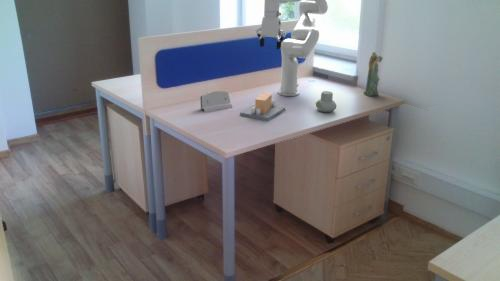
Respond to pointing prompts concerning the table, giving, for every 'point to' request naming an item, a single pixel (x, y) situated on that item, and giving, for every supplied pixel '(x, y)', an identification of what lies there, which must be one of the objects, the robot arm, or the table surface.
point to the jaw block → (263, 102)
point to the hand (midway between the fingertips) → (270, 47)
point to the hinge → (215, 101)
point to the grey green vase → (326, 102)
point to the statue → (372, 75)
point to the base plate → (267, 116)
